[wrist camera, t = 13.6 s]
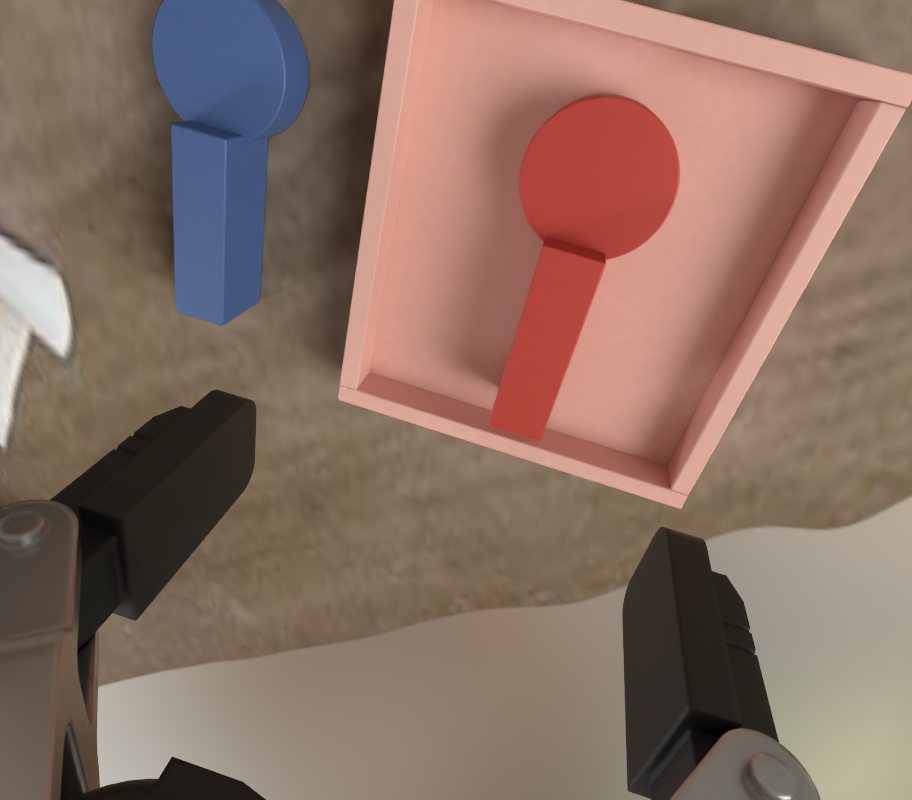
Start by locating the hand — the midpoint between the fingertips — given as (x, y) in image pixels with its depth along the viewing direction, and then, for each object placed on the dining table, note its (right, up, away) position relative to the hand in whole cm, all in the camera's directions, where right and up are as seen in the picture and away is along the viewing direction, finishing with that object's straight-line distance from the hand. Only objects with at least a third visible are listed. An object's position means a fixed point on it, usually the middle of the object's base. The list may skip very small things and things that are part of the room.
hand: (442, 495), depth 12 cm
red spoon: (+5, +7, +12) cm, 14 cm away
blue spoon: (-9, +12, +13) cm, 20 cm away
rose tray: (+5, +7, +12) cm, 15 cm away
